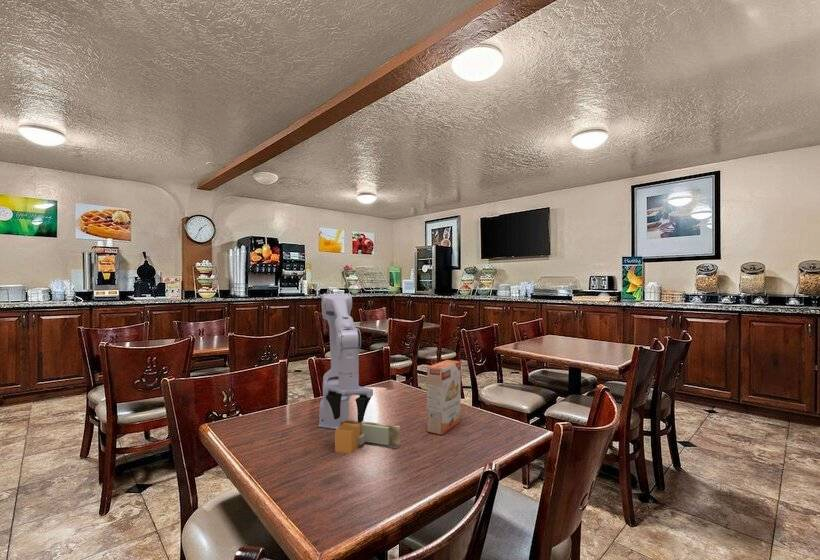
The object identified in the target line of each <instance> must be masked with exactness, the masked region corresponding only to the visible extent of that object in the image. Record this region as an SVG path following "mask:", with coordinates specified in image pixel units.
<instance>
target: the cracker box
mask: <svg viewBox="0 0 820 560" xmlns="http://www.w3.org/2000/svg"><path fill="white" fill-rule="evenodd" d="M461 367H462V362H461V361H458V360H450V359H446V360H443V361H440V362H437V363H435V364H434V363H433V364H432V365H429V366H427V367H426V370H427V371H426V373H427V374H426V432H427V433H430V434H435V435H438V436H443V435H444V434H446V433H447V432H448V431H450V430H451V429H452V428H454V427H455V426H457V425H458V424H460V423H461V382H462V381H461V380H462V379H461V378H462V377H461V375H462V373H461V371H462V369H461Z"/></svg>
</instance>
